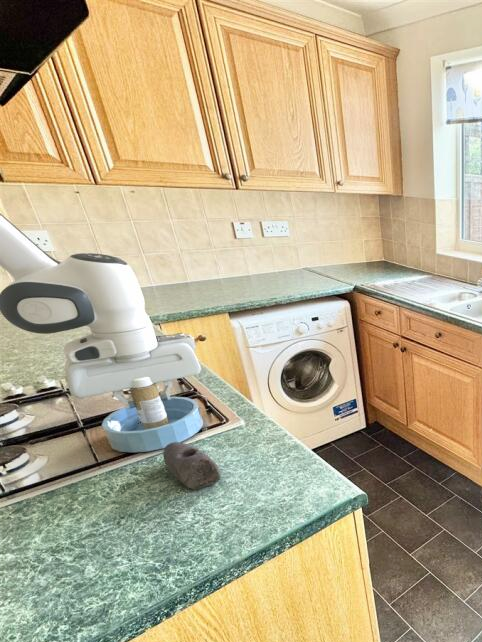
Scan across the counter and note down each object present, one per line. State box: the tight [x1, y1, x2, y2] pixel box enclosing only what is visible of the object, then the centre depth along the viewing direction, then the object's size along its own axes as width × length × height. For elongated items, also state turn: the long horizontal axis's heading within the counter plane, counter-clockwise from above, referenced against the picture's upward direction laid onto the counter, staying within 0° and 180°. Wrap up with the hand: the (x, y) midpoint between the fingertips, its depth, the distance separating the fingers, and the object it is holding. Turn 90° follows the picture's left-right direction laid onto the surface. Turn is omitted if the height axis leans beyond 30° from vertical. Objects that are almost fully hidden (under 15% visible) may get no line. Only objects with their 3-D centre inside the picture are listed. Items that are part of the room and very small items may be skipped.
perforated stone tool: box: [163, 442, 221, 491], centre depth 77 cm, size 15×5×7 cm, turn 56°
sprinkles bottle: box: [128, 377, 169, 430], centre depth 87 cm, size 5×5×14 cm
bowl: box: [101, 396, 204, 454], centre depth 89 cm, size 16×16×6 cm
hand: (148, 403), depth 87 cm, fingers closed on sprinkles bottle, 4 cm apart
